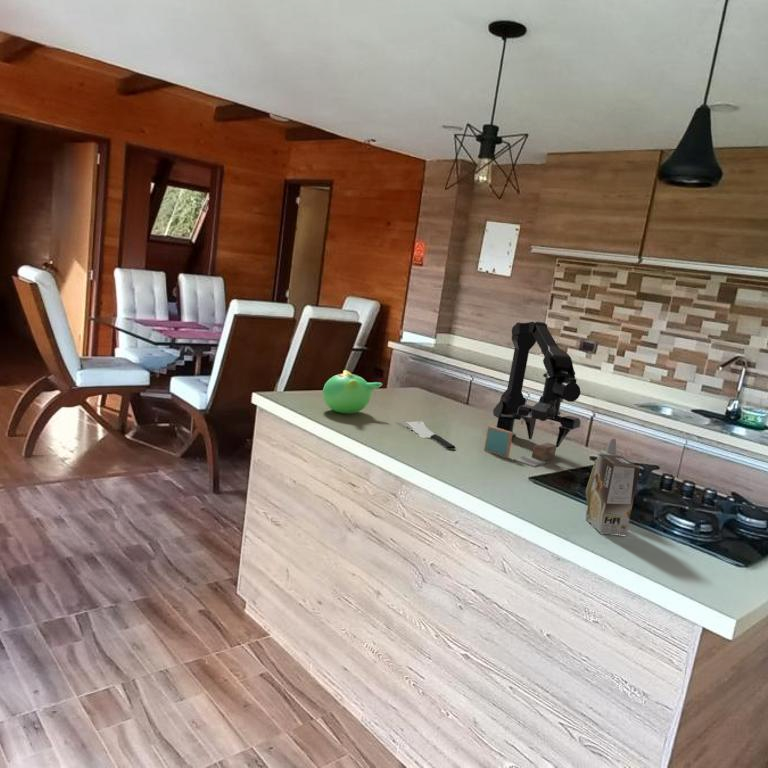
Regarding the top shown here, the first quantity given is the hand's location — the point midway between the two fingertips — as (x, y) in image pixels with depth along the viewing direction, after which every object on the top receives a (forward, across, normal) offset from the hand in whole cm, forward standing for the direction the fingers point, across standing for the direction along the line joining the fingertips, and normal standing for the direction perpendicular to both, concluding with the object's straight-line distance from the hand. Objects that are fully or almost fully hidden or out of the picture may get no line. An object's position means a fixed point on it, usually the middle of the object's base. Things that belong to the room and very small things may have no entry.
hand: (543, 443), depth 197 cm
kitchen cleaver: (+6, -34, -16) cm, 38 cm away
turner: (+5, 0, -2) cm, 6 cm away
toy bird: (+5, -66, -20) cm, 69 cm away
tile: (+1, -10, -10) cm, 14 cm away
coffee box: (+5, +36, -41) cm, 55 cm away
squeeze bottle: (+5, +30, -29) cm, 42 cm away
